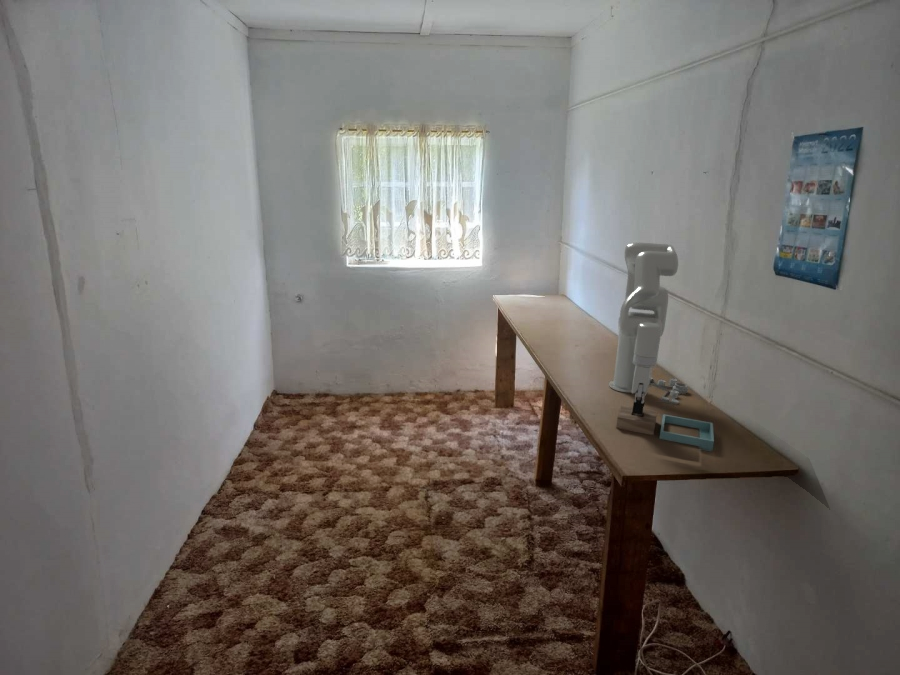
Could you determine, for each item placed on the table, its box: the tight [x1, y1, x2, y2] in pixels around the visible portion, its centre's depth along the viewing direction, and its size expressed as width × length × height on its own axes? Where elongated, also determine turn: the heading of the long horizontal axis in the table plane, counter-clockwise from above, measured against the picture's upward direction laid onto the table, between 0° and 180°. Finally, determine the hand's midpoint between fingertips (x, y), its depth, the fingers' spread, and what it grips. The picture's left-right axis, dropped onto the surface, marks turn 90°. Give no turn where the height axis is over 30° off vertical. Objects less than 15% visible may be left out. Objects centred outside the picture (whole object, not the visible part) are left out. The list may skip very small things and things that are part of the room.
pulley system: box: [649, 376, 689, 405], centre depth 236 cm, size 27×5×15 cm
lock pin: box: [633, 393, 646, 417], centre depth 198 cm, size 3×3×11 cm
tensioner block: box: [615, 404, 658, 436], centre depth 199 cm, size 12×12×5 cm
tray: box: [659, 414, 715, 452], centre depth 194 cm, size 16×16×4 cm
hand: (638, 409), depth 198 cm, fingers open, 6 cm apart
